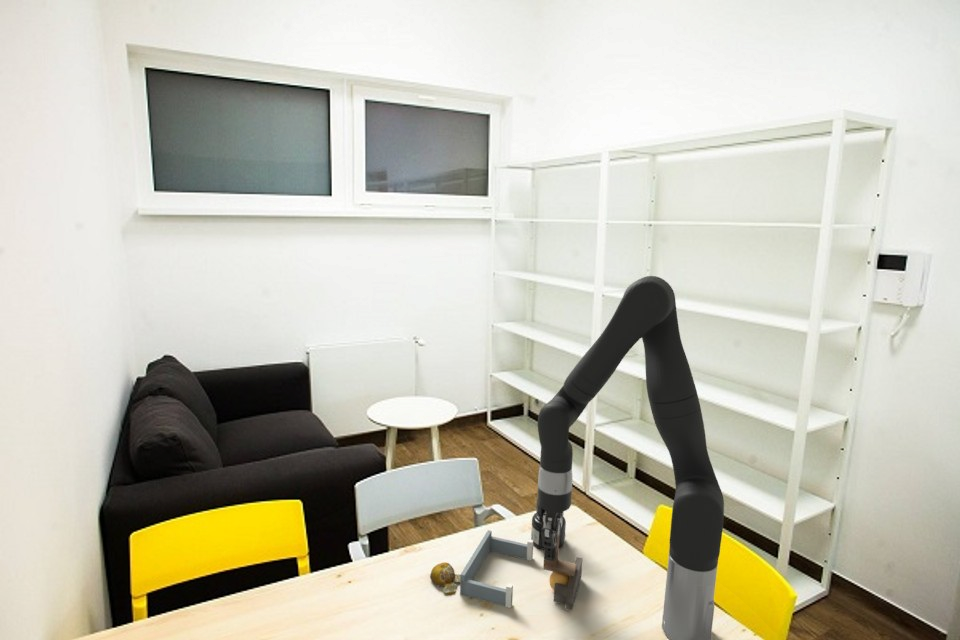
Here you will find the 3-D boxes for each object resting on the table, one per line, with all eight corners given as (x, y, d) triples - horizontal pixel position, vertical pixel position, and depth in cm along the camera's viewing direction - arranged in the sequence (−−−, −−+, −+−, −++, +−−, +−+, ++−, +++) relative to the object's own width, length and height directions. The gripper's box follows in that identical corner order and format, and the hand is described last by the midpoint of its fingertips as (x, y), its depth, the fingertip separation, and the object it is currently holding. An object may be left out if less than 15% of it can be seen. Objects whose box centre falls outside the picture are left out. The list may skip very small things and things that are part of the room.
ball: (572, 586, 126) (573, 567, 125) (568, 600, 122) (569, 580, 121) (551, 581, 128) (552, 562, 127) (546, 595, 123) (547, 575, 122)
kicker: (581, 577, 129) (584, 522, 126) (572, 611, 118) (575, 551, 115) (549, 569, 132) (552, 515, 129) (537, 601, 120) (540, 543, 118)
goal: (532, 558, 137) (533, 540, 136) (510, 608, 119) (511, 587, 118) (487, 547, 141) (488, 529, 140) (459, 594, 123) (460, 574, 122)
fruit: (452, 598, 122) (452, 584, 121) (422, 585, 126) (422, 571, 125) (471, 578, 129) (471, 564, 128) (442, 566, 133) (442, 553, 132)
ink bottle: (535, 528, 150) (537, 488, 147) (567, 535, 147) (570, 494, 145) (527, 548, 141) (528, 505, 138) (560, 555, 138) (563, 512, 136)
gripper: (565, 503, 113) (561, 577, 116) (577, 474, 126) (573, 541, 129) (530, 496, 116) (527, 569, 119) (545, 468, 129) (542, 535, 132)
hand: (551, 554), depth 124 cm, fingers closed on kicker, 3 cm apart
